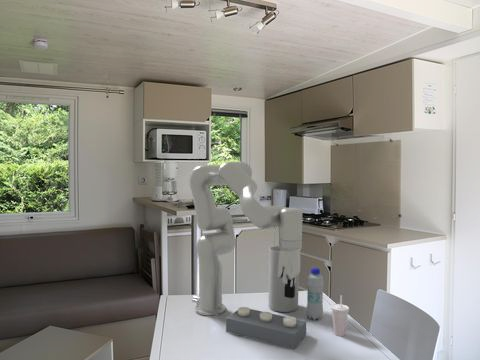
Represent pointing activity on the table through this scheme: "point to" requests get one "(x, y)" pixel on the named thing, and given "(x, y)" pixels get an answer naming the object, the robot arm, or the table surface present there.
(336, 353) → the table surface
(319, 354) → the table surface
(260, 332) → the control panel
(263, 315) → the knob middle
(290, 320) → the knob
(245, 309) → the knob
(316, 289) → the bottle
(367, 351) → the table surface
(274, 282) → the cylinder vase
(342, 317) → the smoothie
